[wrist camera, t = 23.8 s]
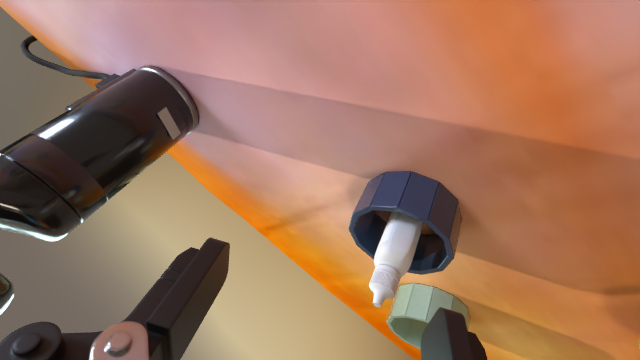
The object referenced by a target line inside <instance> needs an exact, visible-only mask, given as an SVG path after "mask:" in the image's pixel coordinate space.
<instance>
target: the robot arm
mask: <svg viewBox="0 0 640 360" xmlns="http://www.w3.org/2000/svg"><path fill="white" fill-rule="evenodd" d="M37 40H38V39H36V38H35V37H34V36H33V35H31V36H30V37H28V38H26V39H25V40H24V41H23V42H22V43H21V49H22V52H23V54H24V55H25V56H26V57H28V58H29V59H31V60H32V61H34V62H36V63H38V64H41V65H43V66H46V67H48V68H51V69H54V70H57V71H60V72H62V73H65V74H68V75H72V76H80V77H86V78H93V79H103V80H102V81H101V82H99V83H97V84H95V85H96V87H97V90H95V91H93V92H92V93H90V94H88V95H86V96H85V97H83V98H81V99H80V100H78V101H76V102H74V103H73V104H71V105H69V106H67V107H66V109H65V113H63V114H62V115H60V116H58V117H57V118H55V119H53V120H51V121H50V122H48V123H46V124H44V125H43V126H41V127H39V128H37V129H36V130H34V131H32V132H31V133H29V134H28V135H26V136H24V137H22V138H20V139H19V140H17V141H15V142H13V143H12V144H10V145H8V146H7V147H5V148H3V149H2V150H0V230H6V231H11V232H16V233H20V234H24V235H27V236H31V237H34V238H37V239H41V240H45V241H57V240H59V239H62V238H63V237H65V236H66V235H68V234H69V233H70V232H71V231H72V230H74V229H75V228H76V227H77V226H78V225H80V224H81V222H83V221H84V220H86V219H87V218H88V217H89V216H90V215H91V214H93V213H94V212H95V211H96V210H97V209H99V208H100V207H101V206H102V205H103V204H105V203H106V202H107V201H108V200H109V199H110V198H111V197H113V196H114V195H115V194H116V193H117V192H119V191H120V190H121V189H122V188H124V187H125V186H126V185H127V184H128V183H129V182H131V181H132V180H133V179H134V178H135V177H137V176H138V175H139V174H140V173H141V172H143V171H144V170H145V169H146V168H147V167H149V166H150V165H151V164H152V163H153V162H154V161H156V160H157V159H158V158H159V157H161V155H163V154H164V153H165V152H166V151H168V150H169V149H170V148H171V147H172V146H174V145H175V144H176V143H177V142H178V141H180V140H181V139H182V138H183V137H184V136H186V135H187V134H189V133H190V132H192V131H193V130H194V129H195V128H196V127H197V125H198V121H199V118H198V112H197V109H196V107H195V104H194V102H193V100H192V99H191V97H190V96H189V94H188V93H187V91H186V90H185V89H184V88H183V87H182V85H181V84H180V83H179V82H178V81H177V80H176V79H174V78H173V77H172V76H171V75H169V74H168V73H167V72H165V71H163V70H161V69H159V68H157V67H154V66H143V67H141V68H139V69H138V70H135V69H132V70H130V71H129V72H127V73H125V74H123V75H122V76H119V75H116V74H113V75H111V76H109V75H107V74H103V73H93V72H86V71H79V70H71V69H67V68H65V67H62V66H59V65H57V64H54V63H51V62H48V61H45V60H43V59H40V58H38V57H36V56H34V55H33V54H31V53H30V51H29V50H28V47H29V45H30V44H31V43H32V42H35V41H37ZM229 249H230V244H229V243H227V242H224V241H220V240H217V239H213V238H209V239H207V240H206V242H205V243H204V244H203V246H202V247H201V248H200V250H199V249H195V248H192V247H191V248H189V249H188V250H186V251H184V252H183V253H181V254H179V255H178V256H177V257H176V259H175V260H174V261H173V262H172V263H171V265H170V266H169V268H168V269H167V270H166V271H165V272H164V273H163V274H162V276H161V278H160V279H158V281H157V282H156V283H155V284H154V285H153V287H152V288H151V289H150V290H149V292H148V293H147V294H146V295H145V297H144V298H143V299H142V300H141V301H140V303H139V304H138V305H137V306H136V308H135V309H134V310H133V311H132V313H131V314H130V315H129V316H128V317H127V318H126V319H125V320H124V321H122V322H120V323H117V324H114V325H112V326H110V327H108V328H107V329H105V330H104V331H100V332H93V333H61V331H60V328H59V327H58V326H57V325H55V324H53V323H50V322H37V323H32V324H29V325H26V326H23V327H21V328H19V329H17V330H15V331H14V332H12V333H11V334H9V335H8V336H7V337H6V338H4V339H3V340H2V341H1V342H0V360H180V359H181V357H182V356H183V354H184V352H185V350H186V349H187V347H188V345H189V343H190V342H191V340H192V338H193V337H194V335H195V333H196V331H197V330H198V328H199V326H200V324H201V323H202V321H203V319H204V317H205V316H206V314H207V312H208V310H209V309H210V307H211V305H212V304H213V302H214V300H215V298H216V296H217V295H218V293H219V291H220V290H221V287H222V286H223V284H224V282H225V279H226V277H227V273H228V264H229ZM14 292H15V288H14V285H13V283H12V282H11V281H10V280H9V279H8V278H7V277H6V276H4V275H3V274H2V273H0V315H1V313H2V312H3V311H4V310H5V309H6V308H7V306H8V305H9V303H10V302H11V300H12V298H13V295H14ZM421 359H422V360H487V357H486V353H485V349H484V348H483V346H482V344H481V343H480V341H479V339H478V338H477V336H476V334H475V333H471V332H468V330H467V326H466V321H465V318H464V316H463V314H462V313H459V312H455V311H452V310H449V309H445V308H442V307H440V308H438V310H437V311H436V313H435V314H434V316H433V317H432V319H431V320H430V322H429V323H428V325H427V326H426V328H425V329H424V331H423V334H422V337H421Z"/></svg>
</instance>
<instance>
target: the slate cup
mask: <svg viewBox="0 0 640 360" xmlns="http://www.w3.org/2000/svg"><path fill="white" fill-rule="evenodd" d="M374 210H378V211H396V212H400V213H402V214H405V215H407V216H410V217H412V218H414V219H417V220H419V221H422V222H424V223H425V224H427V225H428V226H429V227H430V228H431V229H432V230H433V231H434V232H435V233H436V234H433V235H430V236H429V235H420V237H419V240H418V244H417V247H416V250H415V253H414V257H413V260H412V263H411V266H410V268H409V270H408V271H407V272H409V273H415V274H421V275H422V274H428V273H434V272H439V271H443V270H444V269H445V268H446V267H447V266H448V265H449V263H450V262H451V261H452V260H453V259H454V256H455V251H456V246H457V241H458V236H459V231H460V227H461V222H462V216H461V211H460V206H459V201H458V199H457V198H456V197H455V196H454V195H452V194H451V193H450V192H449V191H448V190H447V189H446V188H445V187H444V186H443V185H442V184H441V183H440V182H438V181H436V180H433V179H430V178H428V177H425V176H422V175H420V174H417V173H414V172H412V173H411V172H386V173H383V174H381V175H380V176H378V177H376V178H375V179H373V180H371V181H370V182H368V184H367V186H366V188H365V190H364V192H363V194H362V196H361V198H360V200H359V202H358V204H357V206H356V208H355V210H354V212H353V214H352V217H351V221H350V225H349V231H350V233H351V235H352V237H353V239H354V241H355V243H356V245H357V246H358V247H359V248H361V249H362V250H363V251H364V252H365V253H367V254H368V255H369V256H370V257H371V258H372V259H374V256H375V253H376V250H377V248H378V245H379V242H380V240H381V237H382V235H383V232H384V230H385V227H386V225H387V223H386V222H385V221H384V220H383V219H382V218H380V217H379V216H378V215H377V214H376V213H375V212H374Z"/></svg>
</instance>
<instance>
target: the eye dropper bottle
mask: <svg viewBox="0 0 640 360" xmlns="http://www.w3.org/2000/svg"><path fill="white" fill-rule="evenodd" d="M423 224H424V222H422V221H419V220H417V219H414V218H412V217H410V216H407V215H405V214H402V213H400V212H396V211H392V212H391V215H390V217H389V220H388V222H387V225H386V227H385V230H384V232H383V235H382V237H381V240H380V242H379V245H378V248H377V250H376V253H375V256H374V265H375V270H374V273H373V275H372V278H371V281H370V283H369V288H370V290H371V291H372V292H373V293H374V298H373V305H374V306H376V307H381V305H382V303H383V302H384V300H385V299H386V298H388V299H390V298H393V297H394V296H395V294H396V291H397V288H398V285H399V281H400V278H401V277H402V276H403V275H404V274H405V273H406V272H407V271H408V270H409V268H410V266H411V263H412V260H413V257H414V253H415V250H416V247H417V244H418V240H419V237H420V234H421V230H422V227H423Z"/></svg>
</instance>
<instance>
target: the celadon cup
mask: <svg viewBox="0 0 640 360" xmlns="http://www.w3.org/2000/svg"><path fill="white" fill-rule="evenodd" d="M440 307H442V308H445V309H449V310H452V311H455V312H459V313H462V314H463V316H464V318H465V321H466V326H467V330H468V328H469V321H470V316H469V312H468V308H467V307H466V306H465V305H464V304H463V303H462V302H461V301H460V300H458V299H457V298H456V297H455V296H453V295H451V294H449V293H447V292H444V291H442V290H440V289H438V288H436V287H433V286H427V285H422V284H417V283H415V284H414V283H412V284H406V285H401V286H400V287H399V288H398V290H397V291H396V294H395V296H394V299H393V303H392V306H391V309H390V312H389V315H388V318H387V324H388V326H389V328H390V330H391V331H392V332H393V333H394V334H396V335H397V336H398V337H399V338H401V339H402V340H403V341H405V342H407V343H409V344H411V345H413V346H415V347H416V348H418V349H420V350H421V337H422V334H423V331H424V329H425V328H426V326H427V325H428V323H429V322H430V320H431V319H432V317H433V316H434V314H435V313H436V311H437V310H438V308H440Z"/></svg>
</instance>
